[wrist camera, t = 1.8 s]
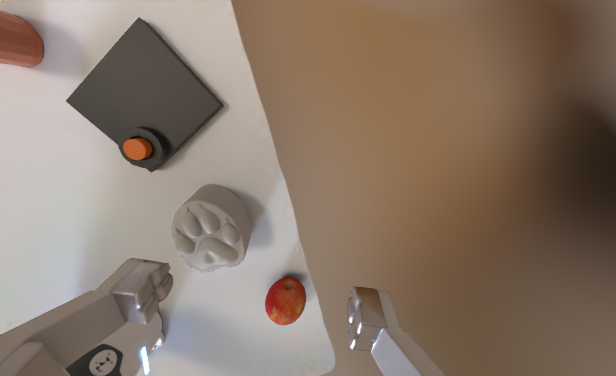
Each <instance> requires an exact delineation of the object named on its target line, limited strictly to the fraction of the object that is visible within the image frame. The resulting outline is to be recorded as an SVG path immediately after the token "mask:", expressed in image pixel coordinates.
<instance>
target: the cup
mask: <svg viewBox="0 0 616 376" xmlns="http://www.w3.org/2000/svg"><path fill="white" fill-rule="evenodd" d="M43 55H44V47H43V43H42V40H41V38H40V36H39V34H38V33H37V32H36V30H35V29H34V28H33V27H32V26H31V25H30V24H29V23H28V22H26V21H25V20H23V19H22V18H20V17H18V16H15V15H12V14H10V13H8V12H5V11H2V10H0V63H1V64H7V65H14V66H21V67H32V66H35V65H37V64H39V63H40V62H41V60H42V58H43Z"/></svg>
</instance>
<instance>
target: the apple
mask: <svg viewBox="0 0 616 376" xmlns="http://www.w3.org/2000/svg"><path fill="white" fill-rule="evenodd" d="M305 303H306V293H305V289H304V287H303V285H302V283H301V282H300V281H298V280H297V279H295V278H290V277H287V278H283V279H280V280H279V281H277V282H276V283H274V284H273V285H272V287H271V288H270V289H269V291H268V294H267V296H266V300H265V308H266V312H267V314H268V316H269V318H270V319H271V320H272V321H274V322H275V323H277V324H279V325H288V324H291V323H293V322H295V321H296V320H297V319H298V318H299V317H300V315H301V314H302V312H303V310H304V307H305Z"/></svg>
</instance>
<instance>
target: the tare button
mask: <svg viewBox="0 0 616 376" xmlns="http://www.w3.org/2000/svg"><path fill="white" fill-rule="evenodd" d="M123 149H124V152H125V154H126V155H127V156H128V157H129V158H131V159H134V160H141V159H144V158H147V157H149V156H150V155H151V154H152V151H153V148H152V145H151V144H150V143H149V142H148V141H147V140H146V139H143V138H134V139H129V140H127V141H126V142H125V143H124V145H123Z"/></svg>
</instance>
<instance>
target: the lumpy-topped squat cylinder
mask: <svg viewBox="0 0 616 376" xmlns="http://www.w3.org/2000/svg"><path fill="white" fill-rule="evenodd" d="M251 233H252V226H251V222H250V218H249V215H248V212H247V209H246V207H245V205H244V203H243V202H242V200H241V199H240V198H239V197H238V196H236V195H235V194H234V193H233V192H231V191H230V190H228V189H227V188H224V187H222V186H219V185H214V184H209V185H205V186H203V187H201V188H200V189H199V190H198V191H197V192H196V193H195V194H194V195H193V196H192V197H190V198H189V199H188V200H187V201H186V202H185V203H184V204H183V205H182V206H181V207H180V208H179V210H178V211H177V213H176V214H175V217H174V220H173V226H172V236H173V239H174V241H175V249H176V251H177V252H178V253H179V254H181V255H182V257H183V259H184V260H185V262H186V263H187V265H188V266H189V267H190V268H192V269H194V270H196V271H199V272H210V271H213V270H215V269H218V268H222V267H231V266H236V265H238V264H240V263H241V262H242V261H243V259H244V257H245V254H246V251H247V247H248V244H249V240H250V236H251Z"/></svg>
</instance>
